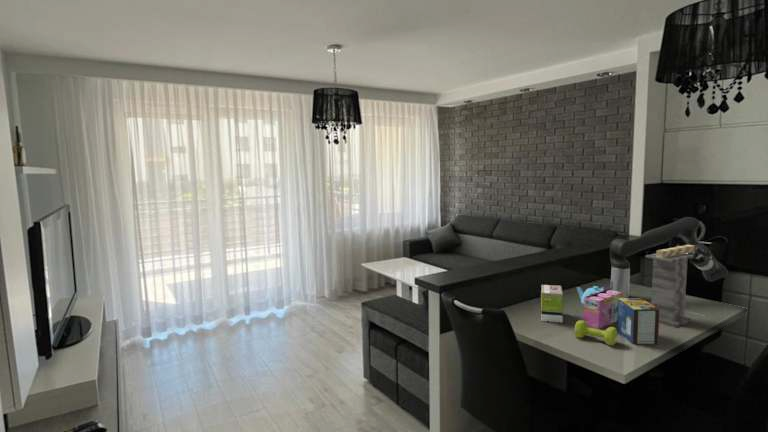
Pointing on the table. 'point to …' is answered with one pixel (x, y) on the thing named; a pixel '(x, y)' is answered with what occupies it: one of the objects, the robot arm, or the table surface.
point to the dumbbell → (596, 332)
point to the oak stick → (675, 251)
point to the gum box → (601, 308)
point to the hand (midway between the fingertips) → (687, 247)
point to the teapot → (588, 292)
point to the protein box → (638, 321)
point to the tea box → (551, 303)
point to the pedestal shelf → (670, 288)
